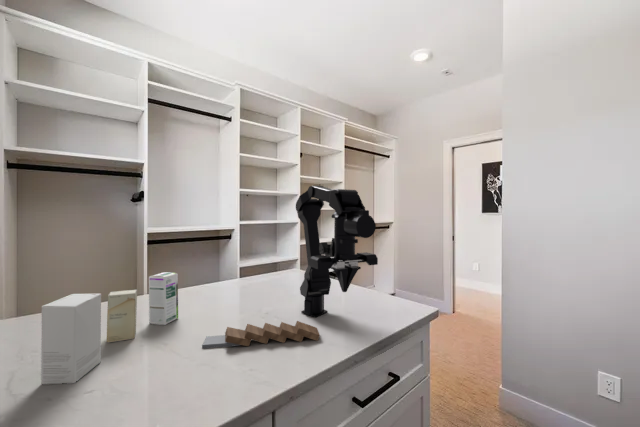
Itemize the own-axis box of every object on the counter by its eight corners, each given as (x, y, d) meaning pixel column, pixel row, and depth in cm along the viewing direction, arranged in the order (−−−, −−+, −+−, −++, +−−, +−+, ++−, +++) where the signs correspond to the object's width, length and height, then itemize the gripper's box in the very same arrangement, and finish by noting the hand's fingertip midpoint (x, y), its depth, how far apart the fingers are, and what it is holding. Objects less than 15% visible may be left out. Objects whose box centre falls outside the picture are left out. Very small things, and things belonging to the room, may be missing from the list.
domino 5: (316, 327, 81) (297, 320, 80) (319, 335, 76) (298, 328, 75) (314, 333, 81) (294, 326, 80) (317, 340, 76) (296, 333, 75)
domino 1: (249, 331, 77) (227, 326, 75) (251, 340, 72) (227, 335, 71) (247, 337, 77) (225, 332, 75) (248, 346, 72) (225, 341, 70)
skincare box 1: (72, 363, 64) (72, 293, 64) (103, 362, 64) (104, 292, 64) (38, 386, 56) (38, 305, 55) (75, 384, 56) (75, 304, 56)
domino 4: (301, 328, 80) (281, 321, 79) (303, 336, 75) (282, 329, 74) (299, 334, 80) (279, 327, 79) (301, 342, 75) (279, 335, 74)
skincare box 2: (106, 343, 73) (106, 295, 73) (109, 336, 77) (109, 291, 77) (135, 338, 76) (135, 292, 76) (137, 332, 80) (137, 288, 80)
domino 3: (285, 329, 79) (265, 322, 78) (286, 337, 75) (264, 330, 74) (283, 335, 79) (262, 328, 78) (284, 343, 74) (262, 336, 73)
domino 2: (268, 330, 79) (247, 323, 78) (269, 338, 74) (246, 331, 73) (266, 335, 79) (245, 329, 77) (266, 344, 74) (244, 337, 73)
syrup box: (165, 325, 85) (165, 276, 85) (148, 323, 86) (148, 275, 86) (178, 318, 91) (178, 272, 91) (162, 317, 92) (162, 271, 92)
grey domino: (241, 334, 78) (206, 336, 76) (239, 342, 73) (202, 344, 71) (241, 339, 78) (206, 342, 76) (239, 348, 73) (202, 351, 71)
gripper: (357, 232, 91) (356, 282, 91) (302, 233, 82) (301, 288, 83) (379, 234, 81) (378, 290, 81) (318, 236, 72) (318, 299, 72)
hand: (344, 291), depth 79 cm, fingers closed
